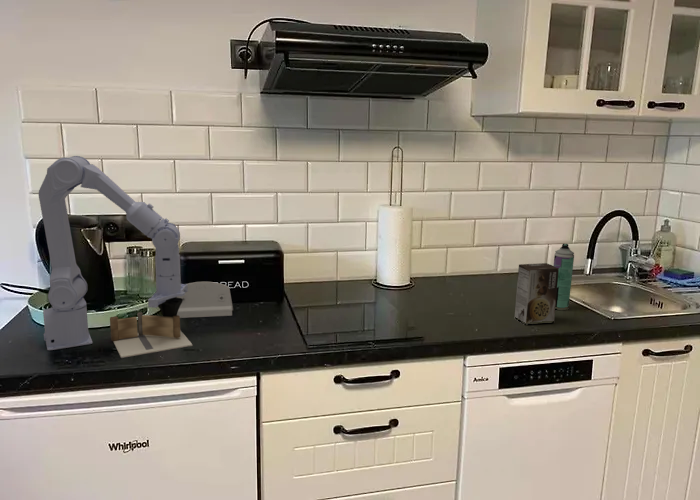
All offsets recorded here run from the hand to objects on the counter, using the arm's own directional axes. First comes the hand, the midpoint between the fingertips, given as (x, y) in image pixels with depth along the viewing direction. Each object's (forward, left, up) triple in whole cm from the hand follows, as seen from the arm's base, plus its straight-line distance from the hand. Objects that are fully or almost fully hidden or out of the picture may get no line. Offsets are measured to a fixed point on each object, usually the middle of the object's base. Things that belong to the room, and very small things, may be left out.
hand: (170, 327), depth 137 cm
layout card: (-5, -1, -3) cm, 6 cm away
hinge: (+13, +16, -3) cm, 20 cm away
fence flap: (-3, 0, -2) cm, 3 cm away
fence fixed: (-10, +3, -3) cm, 11 cm away
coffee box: (+93, -34, -3) cm, 99 cm away
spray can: (+110, -29, -3) cm, 113 cm away
